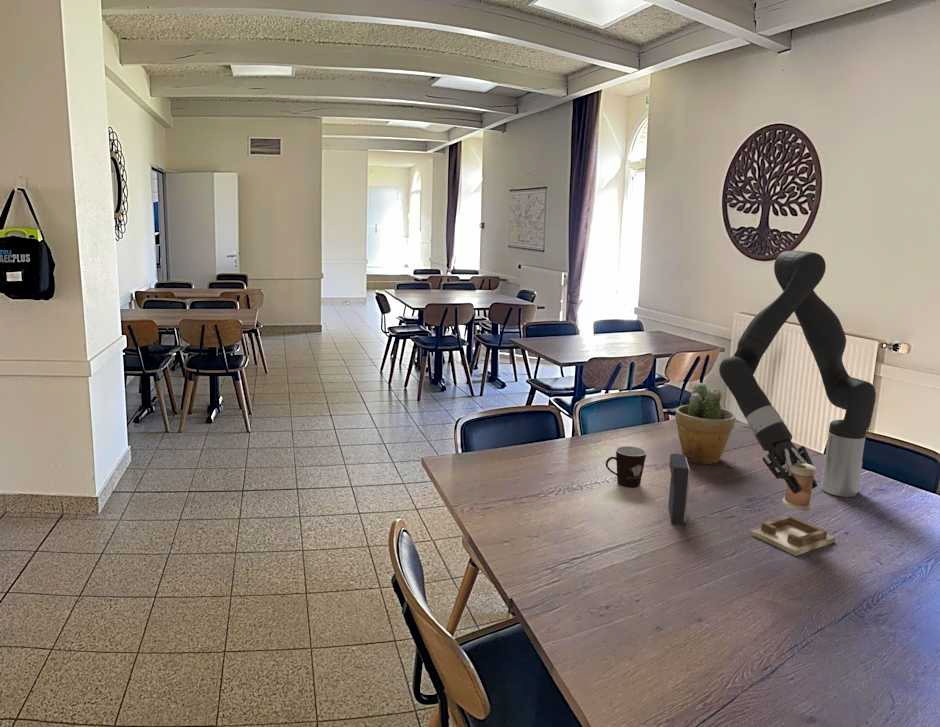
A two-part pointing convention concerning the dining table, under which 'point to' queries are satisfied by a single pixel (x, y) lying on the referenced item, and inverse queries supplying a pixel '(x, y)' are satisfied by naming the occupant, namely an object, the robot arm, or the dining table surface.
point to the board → (793, 535)
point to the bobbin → (805, 480)
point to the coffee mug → (629, 465)
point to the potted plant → (704, 425)
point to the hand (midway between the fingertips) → (806, 489)
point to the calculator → (678, 488)
